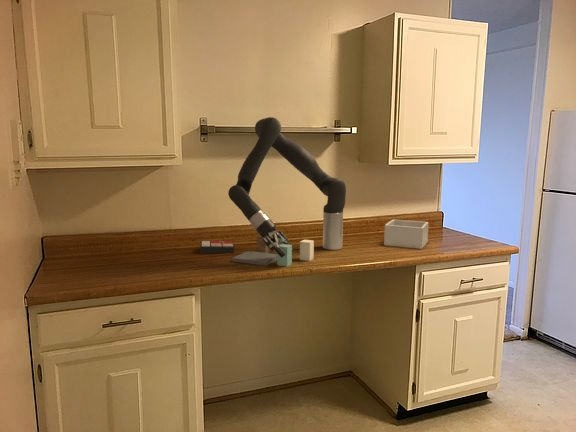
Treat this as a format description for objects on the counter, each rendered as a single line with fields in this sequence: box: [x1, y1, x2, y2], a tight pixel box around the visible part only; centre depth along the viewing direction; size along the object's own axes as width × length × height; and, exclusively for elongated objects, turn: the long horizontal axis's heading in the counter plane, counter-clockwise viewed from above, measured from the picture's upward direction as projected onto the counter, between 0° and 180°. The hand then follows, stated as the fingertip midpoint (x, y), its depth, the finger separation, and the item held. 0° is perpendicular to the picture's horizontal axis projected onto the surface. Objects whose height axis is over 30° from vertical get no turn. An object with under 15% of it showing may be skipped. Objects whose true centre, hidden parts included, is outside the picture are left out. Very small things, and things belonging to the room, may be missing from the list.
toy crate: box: [383, 219, 429, 250], centre depth 233 cm, size 18×18×10 cm
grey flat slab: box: [231, 250, 277, 267], centre depth 201 cm, size 14×16×2 cm
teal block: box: [276, 244, 293, 267], centre depth 193 cm, size 4×4×8 cm
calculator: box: [199, 240, 235, 255], centre depth 217 cm, size 11×4×15 cm
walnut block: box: [256, 234, 271, 253], centre depth 213 cm, size 4×4×8 cm
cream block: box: [299, 239, 315, 262], centre depth 202 cm, size 4×4×8 cm
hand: (287, 254), depth 193 cm, fingers open, 7 cm apart
